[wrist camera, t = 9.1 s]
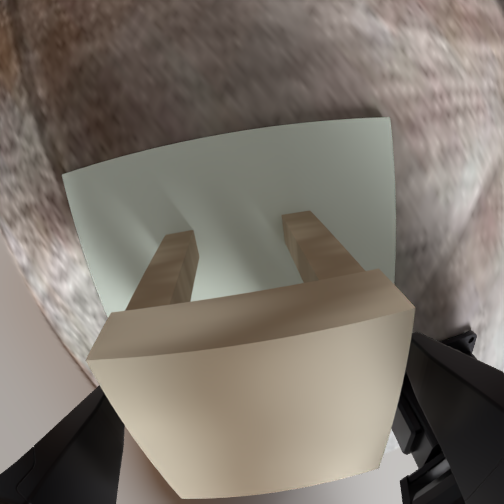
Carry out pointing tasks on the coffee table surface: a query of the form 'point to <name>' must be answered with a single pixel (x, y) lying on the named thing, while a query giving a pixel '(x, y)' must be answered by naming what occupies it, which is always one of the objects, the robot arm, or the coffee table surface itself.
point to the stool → (258, 369)
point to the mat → (237, 204)
